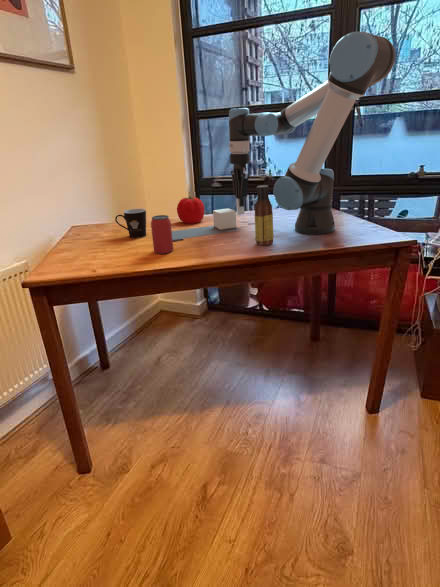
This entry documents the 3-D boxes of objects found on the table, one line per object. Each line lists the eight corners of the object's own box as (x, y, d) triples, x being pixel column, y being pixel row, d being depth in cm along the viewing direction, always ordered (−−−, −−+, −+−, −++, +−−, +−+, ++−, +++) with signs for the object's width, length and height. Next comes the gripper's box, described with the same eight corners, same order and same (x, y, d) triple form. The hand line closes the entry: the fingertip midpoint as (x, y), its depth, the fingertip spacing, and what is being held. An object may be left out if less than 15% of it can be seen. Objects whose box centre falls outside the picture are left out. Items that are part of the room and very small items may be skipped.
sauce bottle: (273, 241, 136) (274, 184, 129) (272, 246, 131) (273, 187, 123) (255, 241, 138) (255, 184, 130) (253, 246, 132) (253, 187, 124)
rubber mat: (240, 231, 151) (240, 230, 151) (172, 241, 142) (172, 240, 142) (227, 225, 162) (227, 223, 162) (163, 233, 153) (163, 232, 153)
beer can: (157, 255, 127) (153, 220, 122) (151, 250, 132) (147, 216, 127) (176, 252, 130) (173, 217, 125) (169, 247, 135) (166, 213, 130)
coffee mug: (153, 234, 154) (150, 209, 150) (140, 239, 147) (137, 213, 143) (129, 232, 158) (126, 207, 154) (116, 237, 151) (112, 212, 147)
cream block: (236, 228, 153) (235, 211, 150) (220, 231, 151) (219, 213, 148) (229, 225, 159) (228, 208, 156) (213, 227, 157) (213, 210, 154)
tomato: (173, 226, 164) (171, 199, 160) (183, 219, 176) (181, 193, 172) (201, 226, 162) (199, 199, 157) (209, 219, 173) (207, 193, 169)
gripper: (224, 152, 151) (226, 212, 160) (237, 154, 139) (238, 218, 149) (241, 151, 153) (242, 210, 163) (255, 153, 142) (255, 216, 151)
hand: (240, 214), depth 156 cm, fingers closed
